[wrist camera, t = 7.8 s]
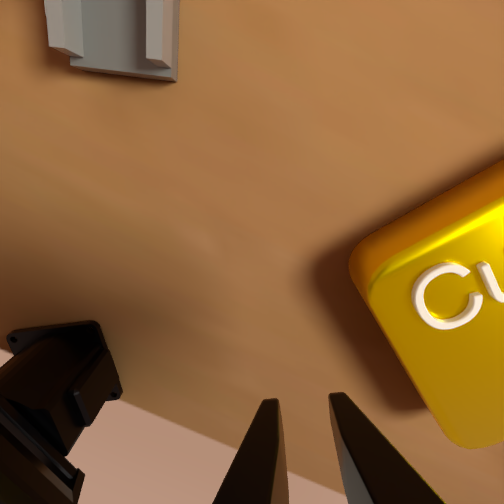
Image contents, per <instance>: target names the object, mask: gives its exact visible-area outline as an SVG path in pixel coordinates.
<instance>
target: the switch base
mask: <svg viewBox="0 0 504 504" xmlns="http://www.w3.org/2000/svg"><path fill="white" fill-rule="evenodd" d="M179 2H180V0H44V4H45V15H46V17H47V29H48V40H49V47H52V48H54V49H56V50H58V51H60V52H62V53H64V54H67V55H69V56H70V65H71V66H73V67H76V68H78V69H81V70H83V71H91V72H99V73H107V74H116V75H124V76H132V77H141V78H149V79H157V80H165V81H174V82H177V69H178V35H179Z"/></svg>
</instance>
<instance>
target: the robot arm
mask: <svg viewBox="0 0 504 504" xmlns="http://www.w3.org/2000/svg"><path fill="white" fill-rule="evenodd" d="M89 327H91V328H93V330H91V329H90V328H89ZM15 337H16V338H17V339H16V338H15ZM6 339H7V342H8V344H9V346H10V348H11V350H12V352H13V354H14V356H13V357H12V358H11V359H10V360H9V361H7V362H6V363H5V364H4V365H3V366H2V367H0V504H77V503H78V499H79V496H80V492H81V488H82V485H83V481H84V477H85V474H84V473H83V472H82V471H81V470H80V469H79V468H77V469H76V468H75V467H74V466H73V465H72V464H71V463H70V462H69V461H68V460H67V459H66V458H65V456H67V455H68V454H69V452H70V450H71V449H72V447H73V446H74V444H75V442H76V441H77V439H78V437H79V436H80V434H81V433H82V431H83V429H84V427H88V426H90V425H91V424H92V423H93V421H94V419H95V418H96V416H97V414H98V413H99V411H100V409H101V408H102V406H103V404H104V403H105V401H112V400H118V399H119V398H120V397H121V395H122V393H123V390H122V387H121V384H120V381H119V376H118V373H117V370H116V367H115V365H114V362H113V359H112V356H111V353H110V351H109V349H108V347H107V345H106V342H105V339H104V336H103V333H102V331H101V328H100V325H99V324H98V323H97V322H95V321H84V322H76V323H68V324H60V325H53V326H45V327H37V328H29V329H21V330H14V331H12V332H11V333H10V334H8V335H7V338H6ZM114 392H115V393H114ZM328 399H329V410H330V420H331V426H332V431H333V436H334V441H335V446H336V451H337V456H338V461H339V466H340V471H341V475H342V480H343V485H344V489H345V493H346V497H347V500H348V504H446V503H445V502H444V501H443V499H442V498H441V497H440V496H439V495H438V494H437V493H436V492H435V491H434V490H433V489H432V487H431V486H430V485H429V484H428V483H427V482H426V481H425V480H424V479H423V478H422V477H421V475H420V474H419V473H418V472H417V471H416V470H415V469H414V468H413V467H412V466H411V465H410V463H409V462H408V461H407V460H406V459H405V458H404V457H403V456H402V455H401V454H400V452H399V451H398V450H397V449H396V448H395V447H394V446H393V445H392V444H391V443H390V442H389V440H388V439H387V438H386V437H385V436H384V435H383V434H382V433H381V432H380V431H379V430H378V428H377V427H376V426H375V425H374V424H373V423H372V422H371V421H370V420H369V419H368V418H367V416H366V415H365V414H364V413H363V412H362V411H361V410H360V409H359V408H358V407H357V405H356V404H355V403H354V402H353V401H352V400H351V399H350V398H349V397H348V396H347V395H346V394H345V393H344V392H337V393H330V394H329V396H328ZM212 504H289V491H288V478H287V466H286V455H285V444H284V433H283V424H282V417H281V411H280V404H279V400H278V399H277V398H272V399H264V400H263V401H262V403H261V405H260V407H259V409H258V411H257V413H256V415H255V417H254V419H253V421H252V423H251V425H250V427H249V429H248V431H247V433H246V435H245V437H244V439H243V441H242V444H241V446H240V448H239V450H238V452H237V454H236V456H235V458H234V460H233V462H232V464H231V466H230V468H229V470H228V472H227V475H226V476H225V478H224V480H223V483H222V485H221V487H220V489H219V491H218V493H217V495H216V497H215V499H214V501H213V503H212Z"/></svg>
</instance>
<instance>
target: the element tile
mask: <svg viewBox="0 0 504 504" xmlns="http://www.w3.org/2000/svg"><path fill="white" fill-rule="evenodd" d="M348 262H349V273H350V277H351V279H352V281H353V283H354V284H355V286H356V288H357V289H358V291H359V293H360V295H361V296H362V298H363V300H364V301H365V303H366V305H367V307H368V308H369V310H370V312H371V313H372V315H373V317H374V318H375V320H376V322H377V324H378V325H379V327H380V329H381V330H382V332H383V334H384V335H385V337H386V339H387V341H388V342H389V344H390V346H391V347H392V349H393V351H394V352H395V354H396V356H397V358H398V359H399V361H400V363H401V364H402V366H403V368H404V370H405V371H406V373H407V375H408V376H409V378H410V380H411V381H412V383H413V385H414V387H415V388H416V390H417V392H418V393H419V395H420V396H421V398H422V400H423V401H424V403H425V404H426V406H427V407H428V409H429V411H430V412H431V414H432V415H433V417H434V419H435V420H436V422H437V423H438V425H439V426H440V428H441V430H442V431H443V433H444V434H445V435H446V437H447V438H448V439H449V440H450V441H451V442H453V443H454V444H456V445H458V446H459V447H463V448H467V449H477V448H484V447H488V446H491V445H495V444H497V443H500V442H502V441H504V159H503V160H501V161H499V162H498V163H496V164H494V165H492V166H491V167H489V168H487V169H485V170H483V171H482V172H480V173H478V174H476V175H475V176H473V177H471V178H469V179H468V180H466V181H464V182H462V183H460V184H459V185H457V186H455V187H453V188H452V189H450V190H448V191H446V192H444V193H443V194H441V195H439V196H437V197H436V198H434V199H432V200H430V201H428V202H427V203H425V204H423V205H421V206H420V207H418V208H416V209H414V210H412V211H411V212H409V213H407V214H405V215H404V216H402V217H400V218H398V219H397V220H395V221H393V222H391V223H389V224H388V225H386V226H384V227H382V228H381V229H379V230H377V231H375V232H373V233H372V234H370V235H368V236H367V237H366V238H364V239H363V240H362V241H360V242H359V243H358V245H357V246H356V247H355V248H354V249H353V251H352V253H351V255H350V258H349V261H348Z"/></svg>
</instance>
